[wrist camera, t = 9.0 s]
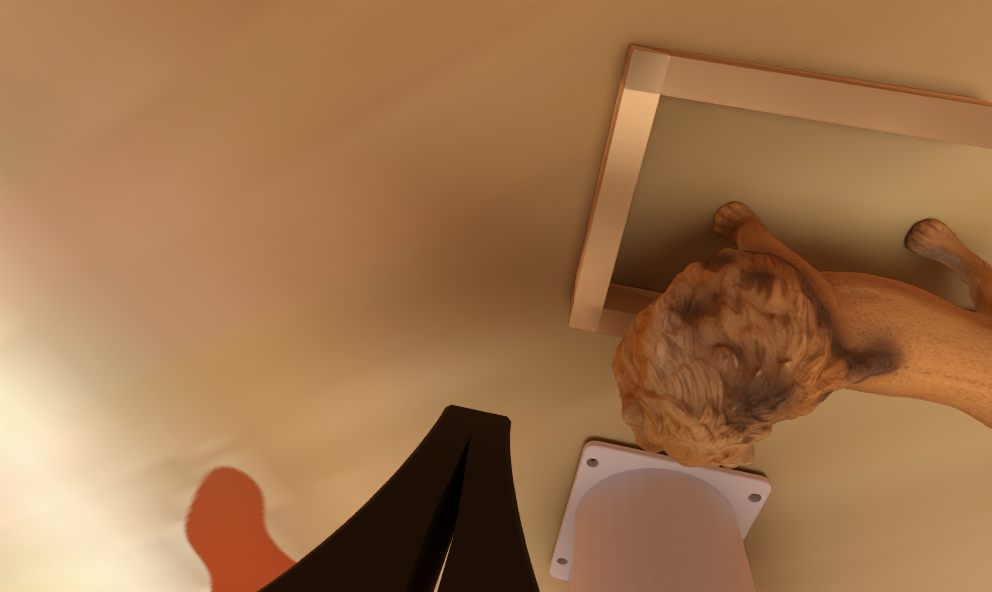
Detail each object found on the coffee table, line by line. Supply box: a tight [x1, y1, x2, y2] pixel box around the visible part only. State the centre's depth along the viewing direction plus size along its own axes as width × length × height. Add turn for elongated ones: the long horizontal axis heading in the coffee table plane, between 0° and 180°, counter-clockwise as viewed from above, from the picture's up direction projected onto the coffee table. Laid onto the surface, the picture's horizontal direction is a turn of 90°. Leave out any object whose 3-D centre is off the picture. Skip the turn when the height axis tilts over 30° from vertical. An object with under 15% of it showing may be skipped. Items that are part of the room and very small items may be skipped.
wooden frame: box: [568, 44, 992, 338], centre depth 18 cm, size 9×10×2 cm
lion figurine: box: [612, 202, 992, 469], centre depth 15 cm, size 15×5×9 cm, turn 94°
